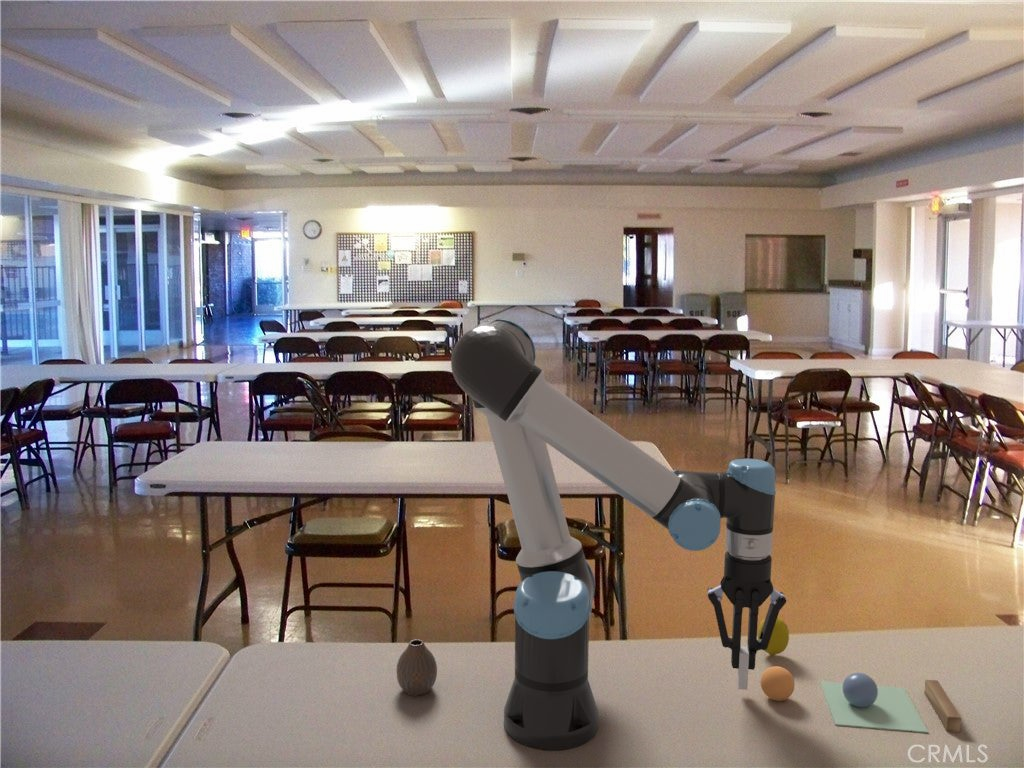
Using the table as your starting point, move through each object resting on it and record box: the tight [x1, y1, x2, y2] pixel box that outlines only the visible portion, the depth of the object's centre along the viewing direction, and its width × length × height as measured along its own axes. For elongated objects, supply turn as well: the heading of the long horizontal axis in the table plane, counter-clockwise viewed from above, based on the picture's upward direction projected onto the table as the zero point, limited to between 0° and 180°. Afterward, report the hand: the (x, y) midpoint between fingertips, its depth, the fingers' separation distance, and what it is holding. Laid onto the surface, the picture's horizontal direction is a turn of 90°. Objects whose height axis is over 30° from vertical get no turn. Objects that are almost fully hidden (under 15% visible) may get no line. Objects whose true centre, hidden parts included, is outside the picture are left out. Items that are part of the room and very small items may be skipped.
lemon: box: [757, 616, 790, 657], centre depth 165 cm, size 6×6×8 cm
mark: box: [819, 680, 929, 734], centre depth 148 cm, size 14×14×1 cm
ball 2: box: [842, 672, 878, 708], centre depth 148 cm, size 6×6×6 cm
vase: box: [396, 639, 438, 697], centre depth 152 cm, size 7×7×9 cm
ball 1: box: [760, 665, 795, 702], centre depth 150 cm, size 6×6×6 cm
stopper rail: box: [923, 679, 962, 733], centre depth 146 cm, size 2×12×2 cm, turn 171°
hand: (742, 685), depth 151 cm, fingers closed
